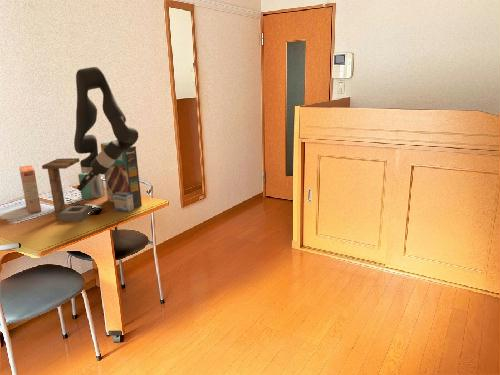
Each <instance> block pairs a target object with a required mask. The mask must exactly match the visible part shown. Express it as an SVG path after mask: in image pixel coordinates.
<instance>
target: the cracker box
mask: <svg viewBox="0 0 500 375" xmlns="http://www.w3.org/2000/svg"><path fill="white" fill-rule="evenodd" d="M19 174H20V178H21V184H22V185H21V186H22V190H23V191H22V192H23V195H24V200H25V201H24V202H25V207H26V210H27V212H28V214H34V213H41V212H42V207H41V202H40V195H39V189H38V184H37V179H36V178H37V177H36V172H35V170H34V168H33V165H25V166H24V165H23V166H19Z"/></svg>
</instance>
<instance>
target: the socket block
mask: <svg viewBox="0 0 500 375" xmlns="http://www.w3.org/2000/svg"><path fill="white" fill-rule="evenodd" d="M65 208H66V209H65V210H63V211H62V212H60V213H59V214H60V220H59V221H60V223H61V222H62V223H63V222H64V223H65V222H67V223H68V222H84V221H85V220H86V219H87V218H88V217H89V216H91V215H92V213H93V212H92V206H91V205H69V206H68V207H65ZM90 211H91V212H90ZM89 212H90V213H89ZM88 213H89V214H88Z"/></svg>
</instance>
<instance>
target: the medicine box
mask: <svg viewBox="0 0 500 375" xmlns="http://www.w3.org/2000/svg"><path fill="white" fill-rule="evenodd" d="M113 203H114V210H115V211H116V212H117V211H118V212H127V213H129V212H131V211H133V210H135V208H134V206H133V196H132V193H129V192H116V193H114V202H113Z"/></svg>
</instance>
